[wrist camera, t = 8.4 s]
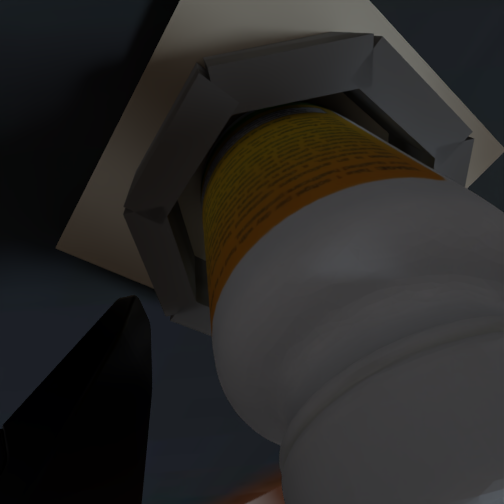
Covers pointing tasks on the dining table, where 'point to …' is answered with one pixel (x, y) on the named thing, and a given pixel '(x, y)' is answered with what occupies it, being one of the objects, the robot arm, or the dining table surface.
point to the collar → (237, 104)
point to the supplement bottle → (356, 311)
